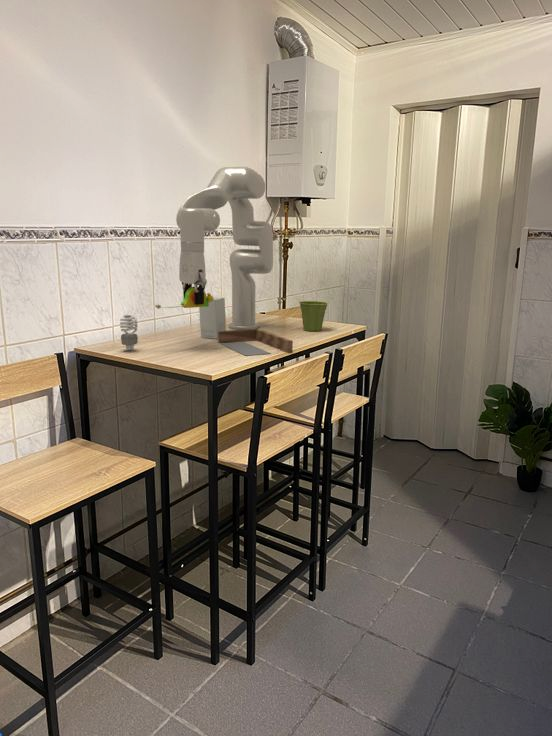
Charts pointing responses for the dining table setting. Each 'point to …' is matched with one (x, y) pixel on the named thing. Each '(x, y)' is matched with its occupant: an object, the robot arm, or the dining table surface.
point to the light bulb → (129, 338)
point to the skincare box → (213, 318)
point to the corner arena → (256, 338)
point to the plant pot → (313, 314)
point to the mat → (245, 348)
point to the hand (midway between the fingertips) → (193, 302)
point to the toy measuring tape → (191, 300)
